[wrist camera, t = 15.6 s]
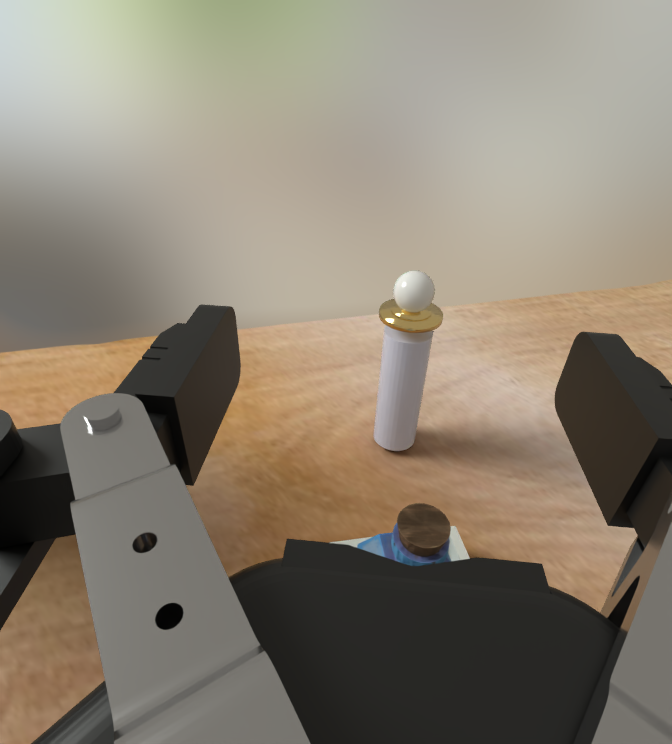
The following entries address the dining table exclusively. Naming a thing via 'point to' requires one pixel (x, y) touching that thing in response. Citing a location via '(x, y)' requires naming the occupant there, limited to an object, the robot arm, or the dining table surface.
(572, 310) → the dining table surface
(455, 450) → the dining table surface
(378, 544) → the perfume bottle
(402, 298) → the perfume bottle
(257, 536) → the dining table surface
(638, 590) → the robot arm
